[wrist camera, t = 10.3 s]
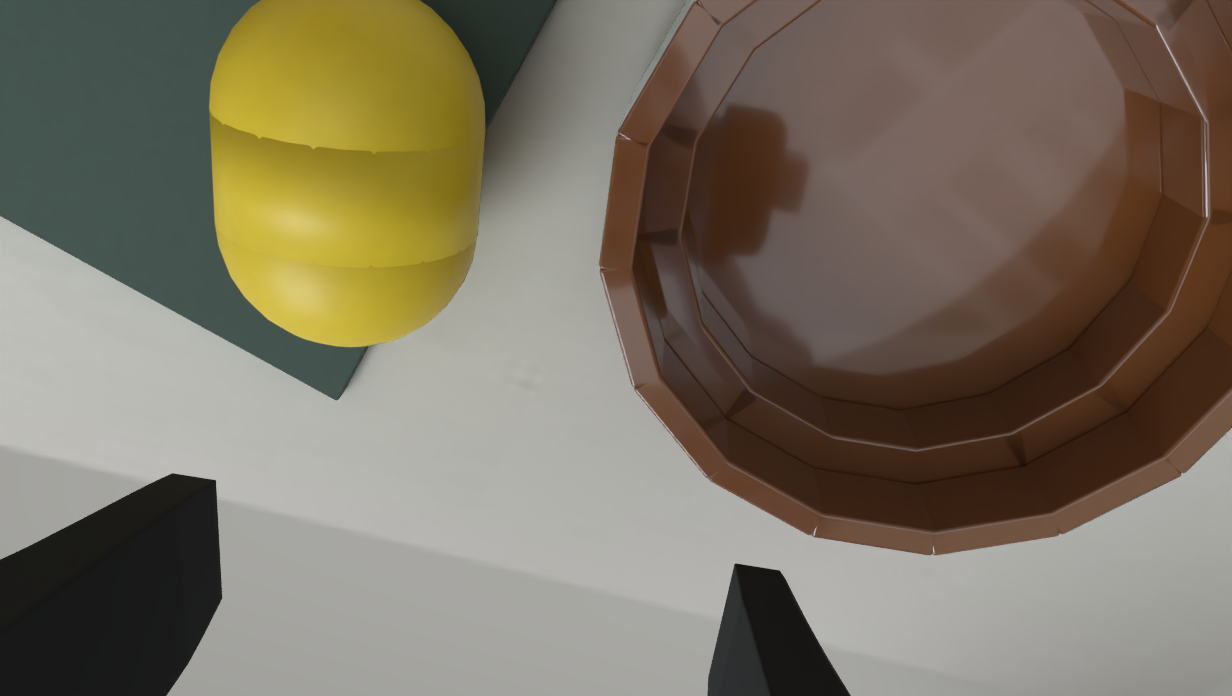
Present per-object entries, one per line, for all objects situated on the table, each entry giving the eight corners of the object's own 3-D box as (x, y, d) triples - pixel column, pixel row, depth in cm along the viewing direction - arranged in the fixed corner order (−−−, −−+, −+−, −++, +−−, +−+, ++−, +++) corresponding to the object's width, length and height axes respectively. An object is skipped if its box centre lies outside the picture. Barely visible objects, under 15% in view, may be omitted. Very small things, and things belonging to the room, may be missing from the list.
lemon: (415, 280, 22) (510, 370, 18) (195, 301, 19) (257, 411, 16) (430, -30, 19) (545, 7, 16) (174, -54, 17) (244, -16, 13)
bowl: (1100, 486, 22) (1179, 596, 18) (588, 405, 22) (566, 499, 19) (1335, -78, 17) (1508, -79, 13) (669, -176, 17) (661, -203, 14)
